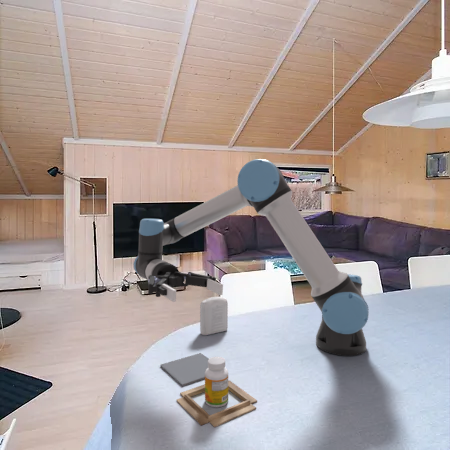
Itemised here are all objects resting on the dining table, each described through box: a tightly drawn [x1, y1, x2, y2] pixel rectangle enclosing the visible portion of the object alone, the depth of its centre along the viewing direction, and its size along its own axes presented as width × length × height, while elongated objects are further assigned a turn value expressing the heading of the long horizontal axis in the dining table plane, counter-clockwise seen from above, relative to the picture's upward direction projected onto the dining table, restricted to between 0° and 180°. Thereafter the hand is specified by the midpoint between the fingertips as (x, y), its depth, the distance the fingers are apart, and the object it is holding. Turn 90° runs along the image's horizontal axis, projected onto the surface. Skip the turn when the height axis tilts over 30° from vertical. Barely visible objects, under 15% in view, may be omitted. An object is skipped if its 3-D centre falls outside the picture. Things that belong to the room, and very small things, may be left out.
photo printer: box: [199, 296, 229, 336], centre depth 123 cm, size 10×4×12 cm, turn 123°
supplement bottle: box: [204, 356, 229, 408], centre depth 80 cm, size 5×5×10 cm
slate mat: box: [160, 352, 210, 387], centre depth 96 cm, size 13×13×1 cm
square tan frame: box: [176, 379, 258, 428], centre depth 80 cm, size 15×15×1 cm
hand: (199, 292), depth 87 cm, fingers open, 13 cm apart
